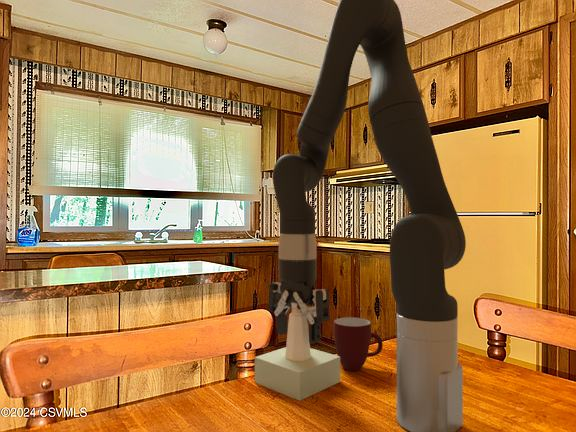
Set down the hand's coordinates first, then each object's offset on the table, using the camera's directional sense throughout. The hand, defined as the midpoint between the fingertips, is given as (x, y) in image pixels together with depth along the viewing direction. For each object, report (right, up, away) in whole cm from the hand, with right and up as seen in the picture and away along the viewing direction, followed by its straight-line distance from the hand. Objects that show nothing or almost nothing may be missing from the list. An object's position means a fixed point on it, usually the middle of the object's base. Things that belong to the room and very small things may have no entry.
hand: (297, 338), depth 84 cm
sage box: (0, -9, 0) cm, 9 cm away
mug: (+13, -9, +8) cm, 18 cm away
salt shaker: (0, -4, 0) cm, 4 cm away
